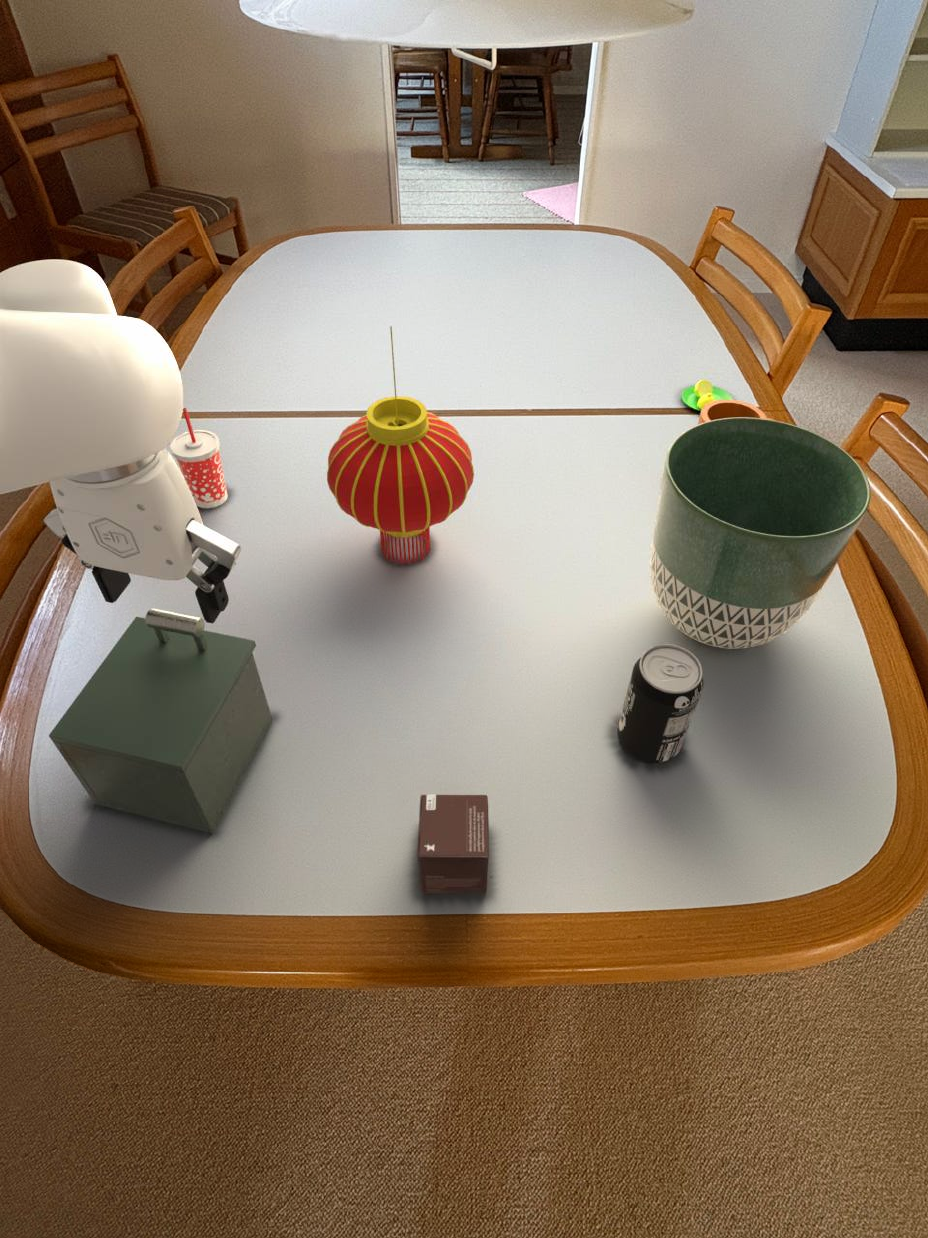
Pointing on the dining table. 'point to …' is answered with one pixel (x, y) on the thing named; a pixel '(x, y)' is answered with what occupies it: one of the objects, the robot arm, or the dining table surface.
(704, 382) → the green dish
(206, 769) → the green open box
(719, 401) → the mug
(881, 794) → the dining table surface
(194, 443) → the beverage cup
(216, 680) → the bin lid
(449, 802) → the box
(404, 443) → the lantern
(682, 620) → the planter
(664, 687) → the beverage can
